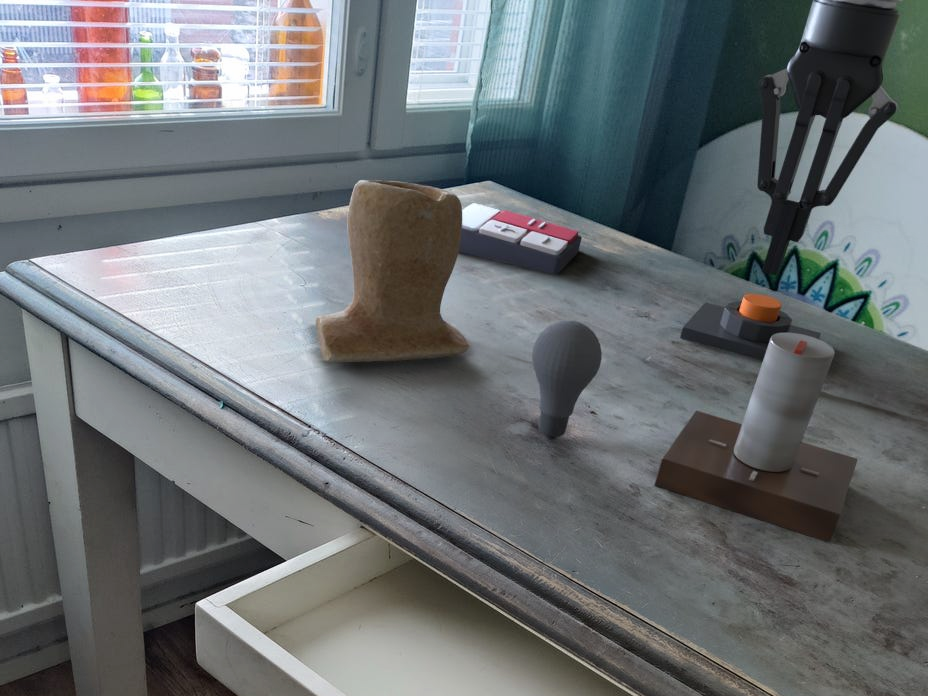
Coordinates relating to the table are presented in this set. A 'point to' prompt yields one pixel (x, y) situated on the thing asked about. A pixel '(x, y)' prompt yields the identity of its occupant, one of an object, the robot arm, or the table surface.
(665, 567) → the table surface
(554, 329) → the light bulb
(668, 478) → the dial panel
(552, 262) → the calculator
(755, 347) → the button block
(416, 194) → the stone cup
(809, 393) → the dial
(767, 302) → the plunger
